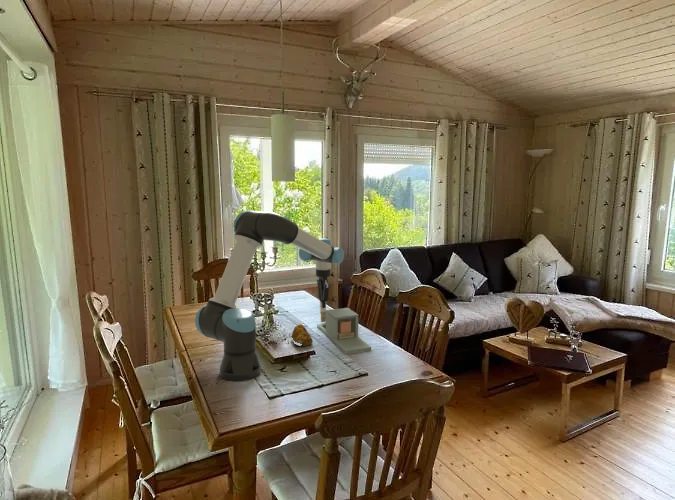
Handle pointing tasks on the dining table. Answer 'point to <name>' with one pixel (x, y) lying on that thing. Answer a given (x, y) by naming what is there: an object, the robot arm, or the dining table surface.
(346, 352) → the tunnel deck
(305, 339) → the rock
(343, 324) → the block
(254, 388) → the dining table surface
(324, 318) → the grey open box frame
